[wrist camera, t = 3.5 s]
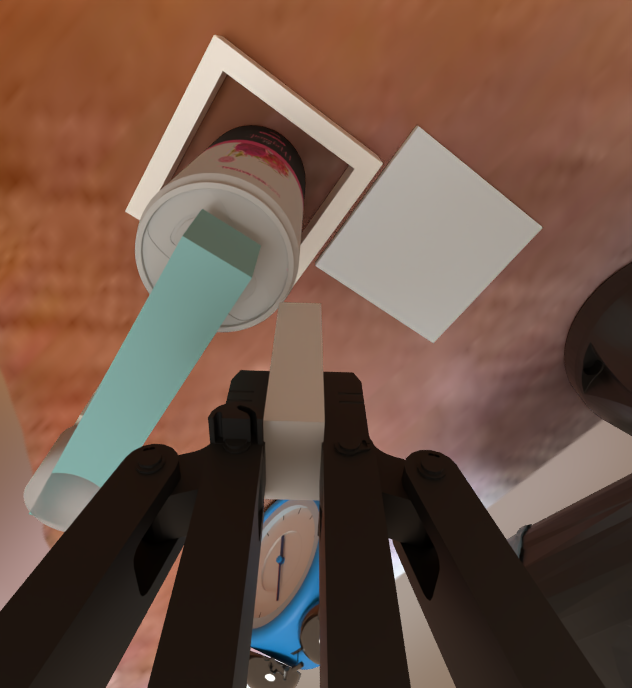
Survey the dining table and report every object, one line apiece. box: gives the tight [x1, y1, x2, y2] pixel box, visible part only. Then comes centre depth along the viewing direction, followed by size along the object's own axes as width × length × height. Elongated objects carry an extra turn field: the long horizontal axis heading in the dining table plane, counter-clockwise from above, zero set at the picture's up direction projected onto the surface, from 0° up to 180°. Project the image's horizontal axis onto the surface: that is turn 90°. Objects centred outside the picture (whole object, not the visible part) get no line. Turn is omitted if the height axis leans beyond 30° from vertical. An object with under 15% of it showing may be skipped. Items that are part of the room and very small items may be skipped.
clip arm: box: [24, 209, 261, 532], centre depth 20 cm, size 4×15×3 cm, turn 146°
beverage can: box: [135, 126, 305, 332], centre depth 26 cm, size 6×7×15 cm
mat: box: [315, 125, 543, 343], centre depth 34 cm, size 11×11×1 cm
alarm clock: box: [247, 499, 320, 688], centre depth 42 cm, size 13×6×15 cm, turn 137°
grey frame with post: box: [74, 35, 383, 426], centre depth 27 cm, size 11×18×16 cm, turn 145°
